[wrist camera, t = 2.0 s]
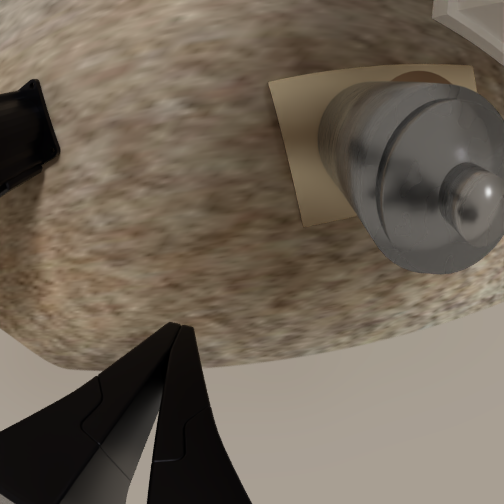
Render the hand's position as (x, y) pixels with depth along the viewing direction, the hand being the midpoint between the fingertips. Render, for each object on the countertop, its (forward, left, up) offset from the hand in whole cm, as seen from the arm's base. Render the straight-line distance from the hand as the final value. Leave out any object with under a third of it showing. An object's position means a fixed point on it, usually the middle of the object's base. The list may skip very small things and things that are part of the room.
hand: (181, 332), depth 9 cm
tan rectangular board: (-2, +12, -12) cm, 17 cm away
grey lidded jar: (-2, +11, -11) cm, 15 cm away
